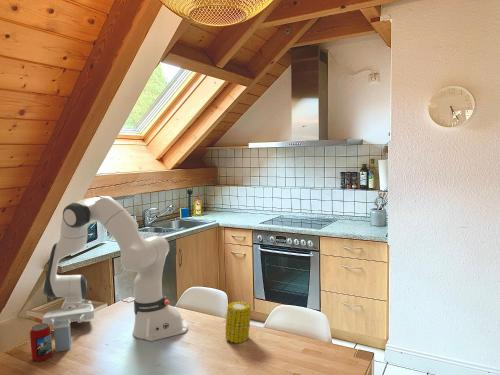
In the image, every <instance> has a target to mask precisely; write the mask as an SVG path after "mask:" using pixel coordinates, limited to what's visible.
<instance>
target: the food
mask: <svg viewBox="0 0 500 375" xmlns="http://www.w3.org/2000/svg"><path fill="white" fill-rule="evenodd" d="M226 308H227V309H226V316H225V317H226V319H225V320H226V321H225V333H224V334H225V339H226V340H228V341H230V342H231V343H235V344H241V343H245V342H246V341H248V339H249V336H250V327H251V317H252V316H251V314H252V312H251V311H252V309H251V308H252V307H251V304H250V303H249V302H247V301H240V300H239V301H232V302H229V303H228V305H227V306H226Z"/></svg>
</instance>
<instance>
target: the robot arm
mask: <svg viewBox="0 0 500 375" xmlns="http://www.w3.org/2000/svg"><path fill="white" fill-rule="evenodd" d="M98 222H99V223H100V224H101V225H102V226H103V228H104V229H105V230H106V231H107V232H108V234H110V236H111V237H112V238H113V239H114V240H115V242H116V244H117V245H118V247H119V251H120V257H119V258H120V263H121V266H122V267H123V268H124V270H126V271H128V272H134V273H135V272H137V274H136V276H135V278H134V281H133V289H134V292H133V293H134V300H133V312H134V326H133V330H132V335H133V336H134V338H137V339H141V340H146V341H148V342H153V341H158V340H161V339H165V338H169V337H175V336H177V335H182V334H185V333H187V331H188V329H189V328H188V322H187V321H186V320H185V319H184V318H182V315H181V313H180V311H179V310H178V309H177V308H176V307H173V306H172V305H170V300H169V299H168V298H167V297H166V295H163V284H162V279H163V271H164V267H165V262H166V257H167V255H168V253H169V251H170V244H169V242H168V240H167V239H166V238H165V237H163V236H160V235H155V236H154V235H153V236H150V237H147V238H143V237H142V235H140V233H139V223H138V222H137V221H136V219H135V218H134V217H133V216H132V215H131V214H130V212H128V211H127V210H126V208H125V207H123V206H122V205H121V204H120V203H119V202H118V201H117V200H115V199H114V198H112V197H111V196H108V195H107V196H104V195H98V196H93V197H88V198H83V199H80V200H77V201H75V202H71V203H69V204H68V205H66V206H65V207H64V209H63V211H62V219H61V223H60V237H59V239H58V241H57V242H56V243H54V244H53V246H52V248H51V251H50V256H49V260H48V266H47V270H46V275H45V279H44V281H43V285H42V292H43V295H45V296H46V297H47V298H49V299H54V298H55V299H56V298H61V297H63V298H65V299H64V301H63V303H62V305H61V308H60V309H56V310H49V311H47V312H46V313H44V315H43V316H42V323H46V324H48V326H51V325H52V327H53V326H54V324H55V321H61V320H68V319H70V323H71V322H72V323H73V322H77V324H81V323H82V322H84V321H89V320H93V319H94V318H95V308H94V305H93V304H92V301H91V300H85V298H86V297H87V295H88V280H87V278H86V277H85V276H84V275H83V274H67V275H66V274H65V275H64V274H63V275H61V274H60V275H59V274H57V272H58V267H59V262H60V260H62V259H64V258H65V257H68V256H71V255H73V254H76V253H79V252H80V251H82V250H83V249H84V248H85V246H86V245H87V244H88V243H87V242H88V225H92V224H95V223H98Z"/></svg>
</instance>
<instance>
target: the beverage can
mask: <svg viewBox="0 0 500 375" xmlns="http://www.w3.org/2000/svg"><path fill="white" fill-rule="evenodd" d="M51 331H52V330H51V327H50V325H48V324H46V323H43V322H42V323H38V324H35V325H33V326H31V329H30V331H29V338H30V340H29V341H30V351H31V352H30V353H31V359H32V360H34V361H36V362H41V361H44V360H47V359H48V358H50V357H51V356H52V355H53V346H52V333H51Z"/></svg>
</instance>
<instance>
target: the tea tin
mask: <svg viewBox="0 0 500 375" xmlns="http://www.w3.org/2000/svg"><path fill="white" fill-rule="evenodd" d="M52 327H53V328H52V329H53V335H54V348H55V349H54V350H55V352H56V353H57V352H62V351H69V350H71V346H72V333H71V331H72V330H71V322H70V319H68V320H61V321H55V324H54V326H52Z"/></svg>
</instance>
